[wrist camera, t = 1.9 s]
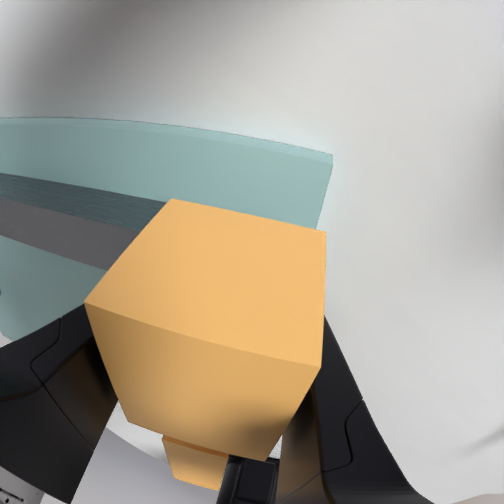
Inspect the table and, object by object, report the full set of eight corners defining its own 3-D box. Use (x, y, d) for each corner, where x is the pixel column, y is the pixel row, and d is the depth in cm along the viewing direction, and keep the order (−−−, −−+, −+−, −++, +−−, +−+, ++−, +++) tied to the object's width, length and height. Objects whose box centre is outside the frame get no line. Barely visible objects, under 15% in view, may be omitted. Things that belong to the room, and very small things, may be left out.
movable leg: (263, 397, 16) (240, 496, 11) (189, 378, 16) (153, 471, 11) (325, 203, 9) (321, 366, 5) (192, 175, 9) (83, 301, 5)
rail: (287, 277, 12) (280, 316, 10) (-53, 191, 14) (-74, 206, 12) (299, 231, 11) (294, 267, 9) (-60, 164, 12) (-81, 178, 11)
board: (251, 421, 21) (248, 435, 20) (8, 327, 23) (1, 336, 22) (332, 154, 10) (333, 166, 9) (-57, 123, 12) (-71, 130, 11)
